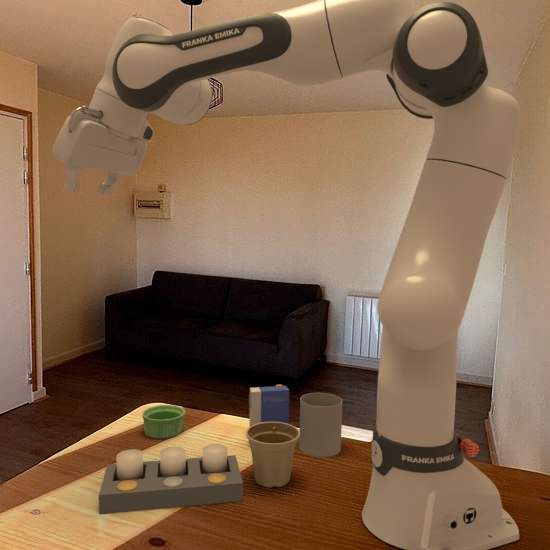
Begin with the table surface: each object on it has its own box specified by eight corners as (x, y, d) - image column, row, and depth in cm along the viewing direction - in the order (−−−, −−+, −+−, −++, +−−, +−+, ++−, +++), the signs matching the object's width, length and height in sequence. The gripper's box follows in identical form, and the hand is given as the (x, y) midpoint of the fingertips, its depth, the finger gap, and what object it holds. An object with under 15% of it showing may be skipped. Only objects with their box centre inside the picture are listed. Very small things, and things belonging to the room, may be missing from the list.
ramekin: (174, 442, 100) (174, 422, 100) (134, 437, 102) (134, 417, 102) (191, 426, 109) (191, 407, 109) (154, 421, 111) (154, 402, 111)
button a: (225, 461, 87) (225, 443, 86) (228, 473, 83) (228, 453, 82) (201, 463, 86) (201, 444, 86) (203, 475, 82) (203, 455, 81)
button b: (185, 464, 85) (185, 445, 85) (185, 476, 81) (186, 456, 81) (160, 466, 84) (160, 447, 84) (159, 478, 80) (159, 458, 80)
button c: (143, 467, 84) (143, 448, 84) (142, 479, 80) (142, 459, 80) (118, 469, 83) (118, 450, 83) (115, 482, 79) (115, 461, 79)
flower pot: (294, 497, 80) (295, 446, 80) (238, 490, 82) (239, 440, 82) (302, 470, 90) (303, 424, 89) (252, 464, 92) (253, 419, 91)
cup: (295, 453, 96) (296, 404, 95) (302, 437, 104) (304, 391, 103) (338, 459, 94) (340, 408, 93) (342, 441, 102) (344, 395, 101)
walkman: (284, 440, 102) (285, 383, 101) (288, 445, 100) (289, 388, 99) (247, 443, 101) (248, 386, 99) (250, 449, 98) (251, 390, 97)
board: (235, 471, 89) (235, 454, 88) (242, 500, 79) (243, 481, 79) (107, 481, 84) (107, 463, 84) (98, 514, 75) (98, 493, 74)
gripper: (94, 111, 72) (62, 197, 75) (159, 135, 92) (132, 202, 94) (60, 93, 73) (29, 179, 76) (131, 121, 93) (105, 188, 96)
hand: (87, 192), depth 85 cm, fingers open, 8 cm apart
